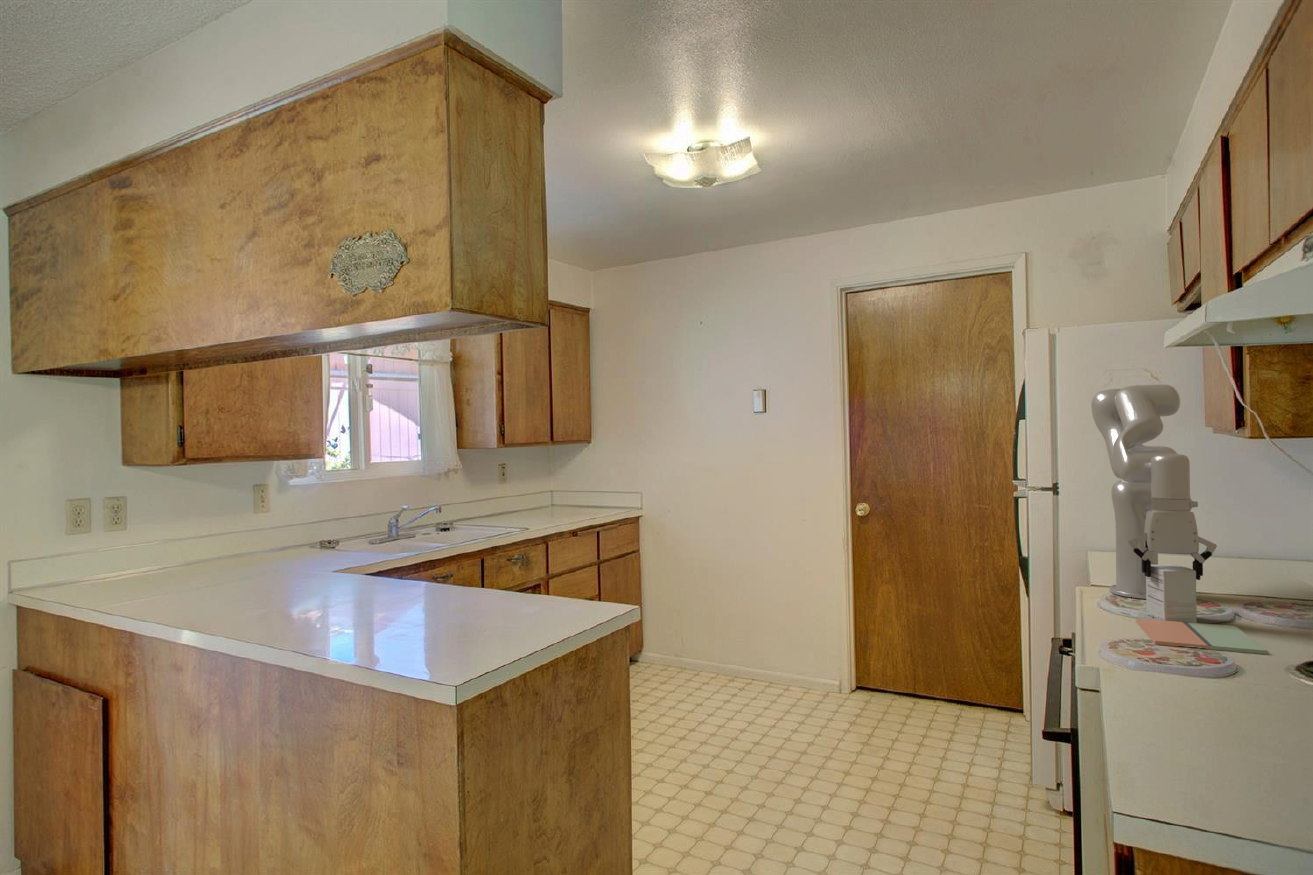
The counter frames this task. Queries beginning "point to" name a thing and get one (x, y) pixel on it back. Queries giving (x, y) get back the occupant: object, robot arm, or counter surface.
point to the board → (1199, 636)
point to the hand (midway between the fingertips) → (1171, 577)
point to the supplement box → (1172, 593)
